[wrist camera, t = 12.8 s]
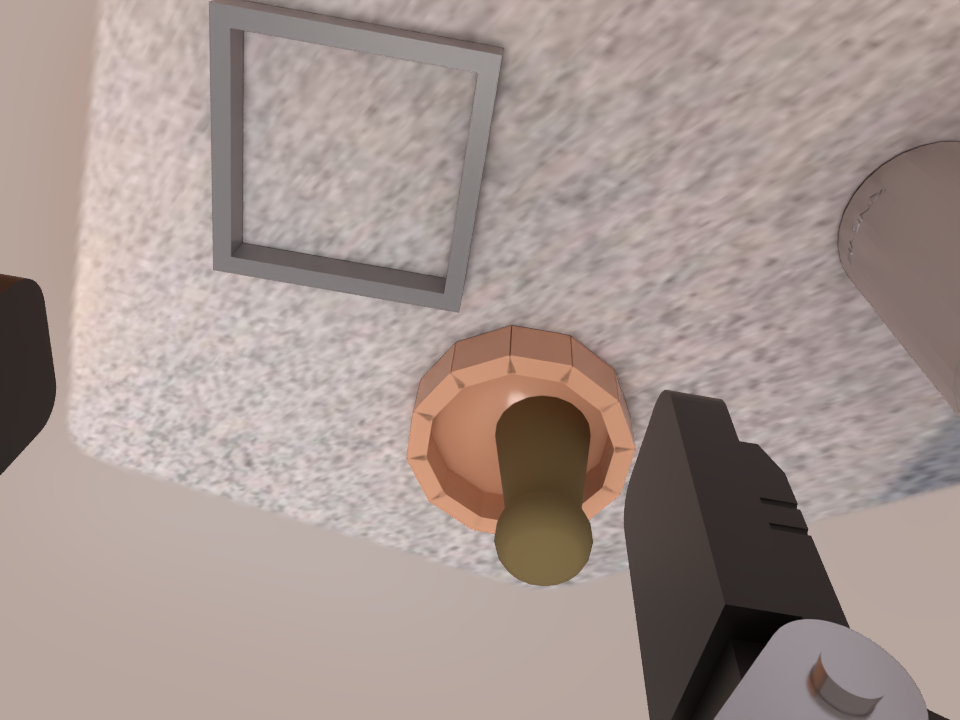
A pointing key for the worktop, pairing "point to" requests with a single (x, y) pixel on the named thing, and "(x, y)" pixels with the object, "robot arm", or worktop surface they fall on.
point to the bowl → (487, 394)
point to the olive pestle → (543, 490)
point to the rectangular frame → (227, 149)
